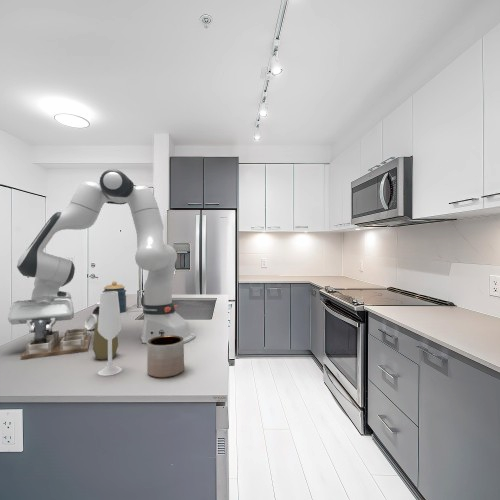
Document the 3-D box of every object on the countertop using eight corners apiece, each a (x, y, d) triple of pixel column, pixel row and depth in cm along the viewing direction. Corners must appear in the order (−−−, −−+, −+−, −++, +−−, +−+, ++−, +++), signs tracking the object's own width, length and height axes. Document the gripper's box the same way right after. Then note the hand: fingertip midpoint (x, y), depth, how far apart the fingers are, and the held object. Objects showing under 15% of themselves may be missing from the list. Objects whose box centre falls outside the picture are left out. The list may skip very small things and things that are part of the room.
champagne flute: (124, 372, 96) (123, 292, 95) (99, 377, 92) (98, 294, 92) (119, 365, 101) (118, 290, 101) (96, 369, 98) (95, 292, 97)
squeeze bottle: (93, 362, 104) (92, 307, 103) (92, 355, 111) (91, 303, 111) (119, 358, 107) (119, 305, 107) (117, 351, 115) (116, 301, 114)
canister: (97, 313, 180) (97, 282, 180) (111, 309, 193) (110, 279, 192) (118, 314, 178) (118, 282, 177) (130, 309, 190) (130, 280, 190)
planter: (184, 377, 92) (184, 344, 92) (145, 380, 90) (144, 346, 90) (184, 363, 103) (183, 334, 103) (149, 366, 101) (148, 336, 101)
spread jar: (119, 325, 153) (118, 301, 153) (106, 331, 142) (105, 305, 142) (95, 324, 154) (95, 300, 154) (80, 330, 143) (80, 305, 143)
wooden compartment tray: (90, 336, 133) (90, 312, 133) (87, 351, 115) (87, 323, 115) (34, 343, 125) (33, 317, 125) (20, 359, 107) (20, 329, 107)
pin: (49, 344, 114) (48, 319, 114) (39, 347, 111) (38, 321, 110) (42, 343, 115) (41, 318, 115) (32, 346, 112) (31, 320, 112)
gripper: (10, 296, 115) (1, 329, 106) (74, 292, 123) (71, 323, 114) (13, 306, 119) (6, 339, 110) (75, 302, 127) (73, 332, 118)
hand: (40, 331), depth 112 cm, fingers closed on pin, 4 cm apart
